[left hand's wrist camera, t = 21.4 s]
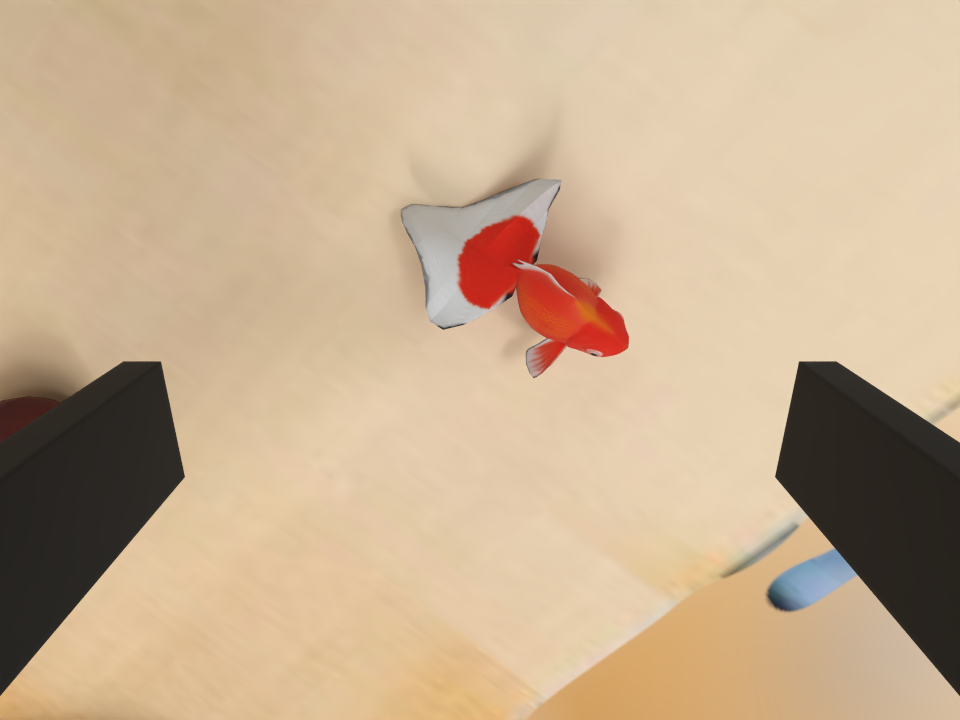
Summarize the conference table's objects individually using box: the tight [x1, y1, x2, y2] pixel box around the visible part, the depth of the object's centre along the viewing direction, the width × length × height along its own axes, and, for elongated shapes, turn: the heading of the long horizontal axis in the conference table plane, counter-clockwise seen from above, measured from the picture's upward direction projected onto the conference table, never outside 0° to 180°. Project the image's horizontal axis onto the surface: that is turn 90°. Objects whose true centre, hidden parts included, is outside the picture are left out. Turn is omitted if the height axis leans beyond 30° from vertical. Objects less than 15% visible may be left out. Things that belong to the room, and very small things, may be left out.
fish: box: [401, 179, 629, 378], centre depth 37 cm, size 11×16×10 cm
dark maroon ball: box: [0, 397, 60, 443], centre depth 42 cm, size 7×8×7 cm
